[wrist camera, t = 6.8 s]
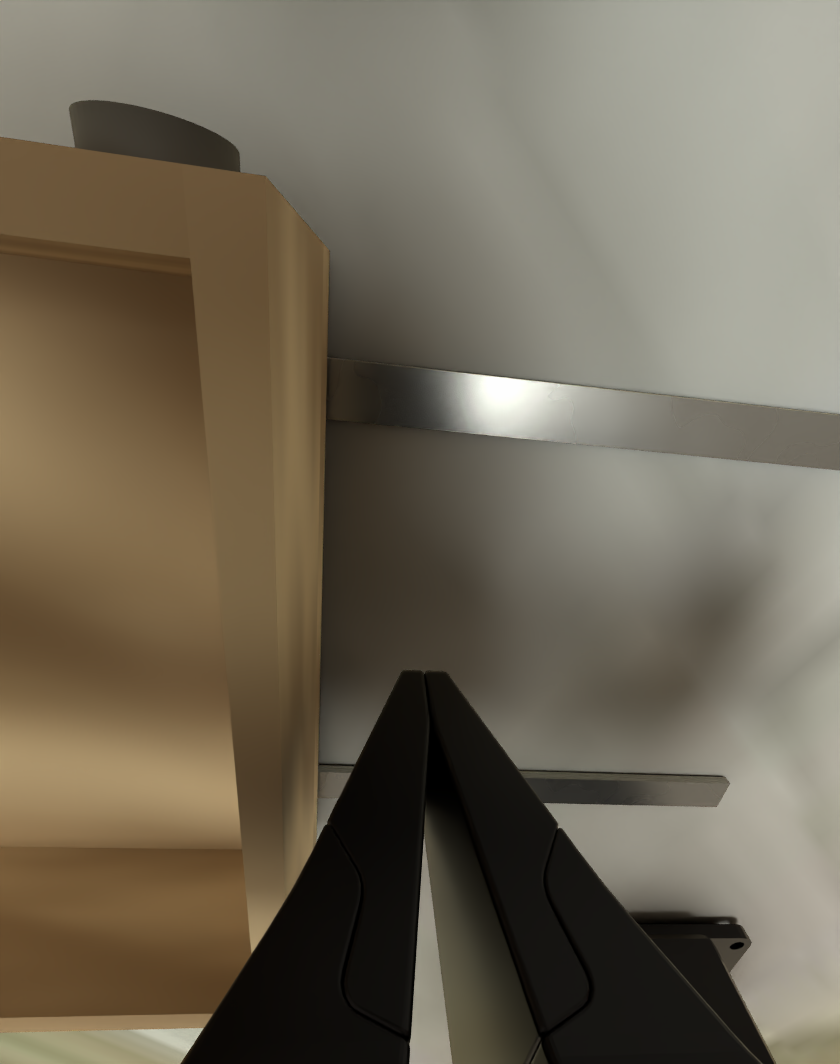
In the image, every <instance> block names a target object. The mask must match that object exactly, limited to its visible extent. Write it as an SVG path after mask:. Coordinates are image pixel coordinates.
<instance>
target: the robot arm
mask: <svg viewBox="0 0 840 1064" xmlns="http://www.w3.org/2000/svg"><path fill="white" fill-rule="evenodd" d="M557 829H558V830H557ZM424 836H425V844H426V852H427V860H428V868H429V877H430V885H431V893H432V901H433V909H434V917H435V925H436V933H437V941H438V949H439V958H440V966H441V974H442V982H443V990H444V998H445V1006H446V1014H447V1022H448V1030H449V1039H450V1047H451V1055H452V1063H453V1064H776V1062H775V1060H774V1058H773V1056H772V1054H771V1052H770V1050H769V1049H768V1047H767V1045H766V1043H765V1041H764V1039H763V1037H762V1035H761V1033H760V1031H759V1029H758V1027H757V1025H756V1023H755V1022H754V1020H753V1018H752V1016H751V1014H750V1012H749V1010H748V1008H747V1006H746V1004H745V1002H744V1000H743V998H742V996H741V994H740V993H739V991H738V989H737V987H736V985H735V983H734V981H733V979H732V977H731V975H730V973H729V972H730V971H731V970H732V968H733V967H734V966H735V965H736V963H737V962H738V961H739V959H740V958H741V957H742V956H743V954H744V953H745V952H746V951H747V949H748V948H749V947H750V945H751V940H750V939H749V937H748V935H747V934H746V932H745V930H744V928H743V927H742V926H741V925H737V924H650V925H638V924H637V923H636V921H635V920H634V919H633V918H632V917H631V915H630V914H629V913H628V912H627V911H626V910H625V908H624V907H623V906H622V905H621V904H620V902H619V901H618V900H617V899H616V898H615V896H614V895H613V894H612V893H611V892H610V891H609V889H608V888H607V887H606V886H605V885H604V883H603V882H602V881H601V879H600V878H599V877H598V875H597V874H596V873H595V872H594V870H593V869H592V868H591V866H590V865H589V864H588V863H587V861H586V860H585V859H584V857H583V856H582V855H581V853H580V852H579V851H578V850H577V848H576V847H575V846H574V844H573V843H572V841H571V840H570V839H569V837H568V836H567V835H566V833H565V832H564V831H563V829H562V828H558V823H557V821H556V820H555V819H554V817H553V816H552V815H551V813H550V812H549V810H548V809H547V808H546V806H545V805H544V804H543V802H542V801H541V800H540V798H539V797H538V796H537V794H536V793H535V792H534V790H533V789H532V787H531V786H530V785H529V783H528V782H527V781H526V779H525V778H524V777H523V775H522V774H521V773H520V771H519V770H518V768H517V767H516V766H515V764H514V763H513V762H512V760H511V759H510V758H509V756H508V755H507V754H506V752H505V751H504V749H503V748H502V747H501V745H500V744H499V743H498V741H497V740H496V739H495V737H494V736H493V735H492V733H491V732H490V731H489V729H488V728H487V726H486V725H485V724H484V722H483V721H482V720H481V718H480V717H479V716H478V714H477V713H476V712H475V710H474V709H473V707H472V706H471V705H470V703H469V702H468V701H467V699H466V698H465V697H464V695H463V694H462V693H461V691H460V690H459V688H458V687H457V686H456V684H455V683H454V682H453V680H452V679H451V678H450V676H449V675H448V674H447V673H446V672H444V671H426V672H425V673H423V671H421V670H403V671H402V672H401V673H400V675H399V677H398V679H397V681H396V683H395V685H394V687H393V689H392V691H391V693H390V695H389V697H388V699H387V701H386V703H385V705H384V707H383V709H382V711H381V714H380V716H379V718H378V720H377V722H376V724H375V726H374V728H373V730H372V732H371V734H370V736H369V738H368V740H367V742H366V744H365V746H364V748H363V750H362V752H361V754H360V756H359V758H358V760H357V762H356V764H355V766H354V768H353V770H352V772H351V774H350V776H349V778H348V780H347V782H346V784H345V786H344V788H343V790H342V792H341V795H340V797H339V799H338V801H337V803H336V805H335V807H334V809H333V811H332V813H331V815H330V817H329V819H328V821H327V825H325V826H324V828H323V830H322V832H321V834H320V836H319V838H318V840H317V842H316V844H315V846H314V848H313V850H312V852H311V854H310V856H309V858H308V860H307V862H306V864H305V865H304V867H303V869H302V871H301V873H300V875H299V877H298V879H297V880H296V882H295V884H294V886H293V888H292V889H291V891H290V893H289V894H288V896H287V898H286V899H285V901H284V903H283V904H282V906H281V908H280V909H279V911H278V913H277V914H276V916H275V917H274V919H273V921H272V922H271V924H270V926H269V927H268V929H267V931H266V932H265V934H264V935H263V937H262V938H261V940H260V941H259V943H258V945H257V946H256V948H255V949H254V951H253V952H252V954H251V955H250V957H249V959H248V960H247V962H246V963H245V965H244V966H243V968H242V970H241V971H240V973H239V974H238V976H237V977H236V979H235V980H234V982H233V984H232V985H231V987H230V988H229V990H228V991H227V993H226V994H225V996H224V998H223V999H222V1001H221V1002H220V1004H219V1005H218V1007H217V1008H216V1010H215V1012H214V1013H213V1015H212V1016H211V1018H210V1019H209V1021H208V1022H207V1024H206V1026H205V1027H204V1029H203V1030H202V1032H201V1033H200V1035H199V1036H198V1038H197V1040H196V1041H195V1043H194V1044H193V1046H192V1047H191V1049H190V1050H189V1052H188V1053H187V1055H186V1056H185V1058H184V1059H183V1061H182V1062H181V1064H409V1058H410V1046H409V1043H410V1039H411V1027H412V1011H413V995H414V980H415V964H416V949H417V933H418V917H419V902H420V886H421V871H422V855H423V839H424Z"/></svg>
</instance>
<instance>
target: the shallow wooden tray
mask: <svg viewBox="0 0 840 1064" xmlns="http://www.w3.org/2000/svg"><path fill="white" fill-rule="evenodd" d="M69 112H70V118H71V124H72V130H73V136H74V142H75V148H72V147H65V146H58V145H51V144H45V143H38V142H31V141H24V140H17V139H11V138H4V137H0V1033H2V1032H45V1031H88V1030H131V1029H174V1028H204V1027H205V1026H206V1024H207V1022H208V1021H209V1019H210V1018H211V1016H212V1015H213V1013H214V1012H215V1010H216V1008H217V1007H218V1005H219V1004H220V1002H221V1001H222V999H223V998H224V996H225V994H226V993H227V991H228V990H229V988H230V987H231V985H232V984H233V982H234V980H235V979H236V977H237V976H238V974H239V973H240V971H241V970H242V968H243V966H244V965H245V963H246V962H247V960H248V959H249V957H250V955H251V954H252V952H253V951H254V949H255V948H256V946H257V945H258V943H259V941H260V940H261V938H262V937H263V935H264V934H265V932H266V931H267V929H268V927H269V926H270V924H271V922H272V921H273V919H274V917H275V916H276V914H277V913H278V911H279V909H280V908H281V906H282V904H283V903H284V901H285V899H286V898H287V896H288V894H289V893H290V891H291V889H292V888H293V886H294V884H295V882H296V880H297V879H298V877H299V875H300V873H301V871H302V869H303V867H304V865H305V864H306V862H307V860H308V858H309V856H310V854H311V852H312V850H313V848H314V846H315V844H316V835H317V790H318V745H319V701H320V656H321V611H322V566H323V521H324V476H325V432H326V387H327V342H328V297H329V252H330V251H329V250H328V248H327V247H326V246H325V245H324V244H323V243H322V241H321V240H320V239H319V238H318V237H317V236H316V234H315V233H314V232H313V231H312V230H311V229H310V227H309V226H308V225H307V224H306V223H305V222H304V220H303V219H302V218H301V217H300V216H299V215H298V213H297V212H296V211H295V210H294V209H293V208H292V206H291V205H290V204H289V203H288V202H287V201H286V199H285V198H284V197H283V196H282V195H281V194H280V192H279V191H278V190H277V189H276V188H275V187H274V185H273V184H272V183H271V182H270V181H269V180H268V178H267V177H266V176H262V175H255V174H248V173H241V172H240V156H239V151H238V150H237V148H236V147H235V146H234V145H233V144H232V143H230V142H229V141H228V140H226V139H225V138H223V137H221V136H220V135H218V134H216V133H214V132H212V131H210V130H208V129H206V128H204V127H201V126H199V125H197V124H194V123H192V122H189V121H186V120H184V119H181V118H178V117H175V116H172V115H169V114H165V113H162V112H159V111H155V110H151V109H147V108H143V107H139V106H134V105H129V104H124V103H117V102H110V101H98V100H88V101H79V102H75V103H73V104H71V106H70V107H69Z"/></svg>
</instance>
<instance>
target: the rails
mask: <svg viewBox="0 0 840 1064" xmlns="http://www.w3.org/2000/svg"><path fill="white" fill-rule="evenodd" d="M326 419H332V420H342V421H352V422H362V423H372V424H382V425H392V426H402V427H412V428H422V429H432V430H442V431H452V432H462V433H472V434H482V435H492V436H502V437H512V438H522V439H532V440H542V441H552V442H562V443H572V444H582V445H592V446H602V447H612V448H622V449H632V450H642V451H652V452H662V453H672V454H682V455H692V456H702V457H712V458H722V459H732V460H742V461H752V462H762V463H772V464H782V465H792V466H802V467H812V468H822V469H832V470H840V415H838V414H829V413H821V412H812V411H803V410H794V409H785V408H776V407H767V406H758V405H749V404H741V403H732V402H723V401H714V400H705V399H696V398H687V397H678V396H670V395H661V394H652V393H643V392H634V391H625V390H616V389H607V388H598V387H590V386H581V385H572V384H563V383H554V382H545V381H536V380H527V379H518V378H510V377H501V376H492V375H483V374H474V373H465V372H456V371H447V370H439V369H430V368H421V367H412V366H403V365H394V364H385V363H376V362H367V361H359V360H350V359H341V358H332V357H327V387H326ZM353 768H354V766H331V765H318V790H317V798H339V797H340V795H341V792H342V790H343V788H344V786H345V784H346V782H347V780H348V778H349V776H350V774H351V772H352V770H353ZM520 773H521V774H522V775H523V777H524V778H525V779H526V781H527V782H528V783H529V785H530V786H531V787H532V789H533V790H534V792H535V793H536V794H537V796H538V797H539V798H540V800H541V801H542V802H543V803H567V804H611V805H655V806H698V807H717V805H718V804H719V802H720V800H721V798H722V797H723V795H724V793H725V792H726V790H727V788H728V786H729V785H730V783H729V781H728V780H727V779H726V777H704V776H670V775H636V774H603V773H569V772H535V771H520Z"/></svg>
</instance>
